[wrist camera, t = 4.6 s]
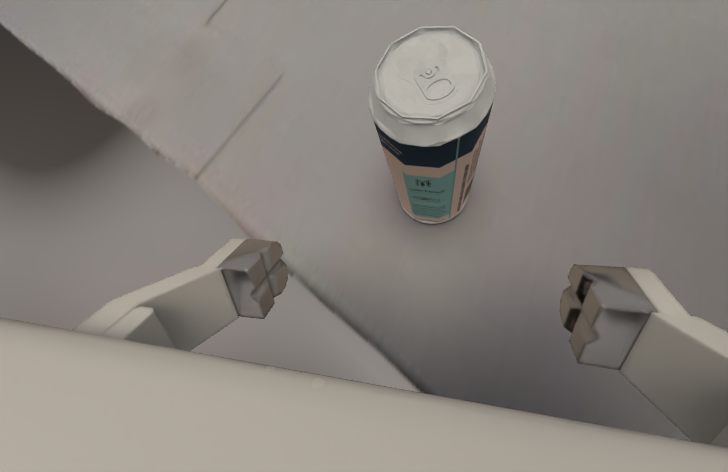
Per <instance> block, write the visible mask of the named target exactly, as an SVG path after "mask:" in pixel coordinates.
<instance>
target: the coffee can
mask: <svg viewBox="0 0 728 472" xmlns="http://www.w3.org/2000/svg"><path fill="white" fill-rule="evenodd" d="M495 89H496V79H495V74H494V70H493V68H492V66H491V64H490V62H489V60H488V58H487V56H486V54H485V53H484V51H483V49H482V47H481V43H480V42H479V41H477V40H476V39H474V38H473V37H471V36H469V35H468V34H466V33H465V32H463V31H461V30H460V29H458V28H457V27H455V26H427V27H419V28H417V29H415V30H413V31H412V32H410V33H408V34H406V35H404V36H403V37H401V38H399V39H397V40H395V41H394V42H392V43H390V45H389V47H388V48H387V50H386V52H385V53H384V55H383V57H382V58H381V60H380V62H379V63H378V65H377V67H376V68H375V74H374V76H373V78H372V80H371V83H370V87H369V95H368V101H369V109H370V112H371V115H372V117H373V120H374V123H375V126H376V129H377V132H378V135H379V138H380V141H381V144H382V147H383V150H384V154H385V157H386V160H387V163H388V166H389V169H390V172H391V175H392V178H393V181H394V184H395V187H396V190H397V193H398V196H399V199H400V203H401V205H402V207H403V209H404V210H405V212H406V213H407V214H408V215H409V216H411V217H412V218H414V219H415V220H417V221H420V222H423V223H429V224H436V223H442V222H445V221H448V220H450V219H452V218H453V217H455V216H456V215H458V214H459V213H460V212H461V210H462V209H463V208H464V206H465V204H466V202H467V200H468V196H469V192H470V188H471V184H472V181H473V177H474V173H475V169H476V165H477V161H478V158H479V154H480V150H481V146H482V142H483V138H484V135H485V131H486V127H487V123H488V119H489V115H490V112H491V108H492V104H493V100H494V97H495Z"/></svg>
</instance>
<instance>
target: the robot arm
mask: <svg viewBox="0 0 728 472" xmlns="http://www.w3.org/2000/svg"><path fill="white" fill-rule="evenodd" d="M282 255H283V250H282V247H281V244H279V243H278V242H276V241H266V240H255V239H244V238H233V239H231V240H230V241H228V242H227V243H226V244H225V245H224V246H223V247H222V248H220V249H219V250H218V251H217V252H216V253H215V254H214V255H213V256H211V257H210V258H209V259H208V260H207V261H206V262H205V263H204V264H203V265H201V266H195V267H192V268H190V269H187V270H185V271H183V272H180V273H177V274H175V275H172V276H170V277H168V278H165V279H162V280H160V281H157V282H155V283H153V284H150V285H148V286H145V287H143V288H140V289H138V290H135V291H133V292H130V293H127V294H125V295H123V296H120V297H118V298H115V299H113V300H110V301H109V302H108V303H107V304H105V305H104V306H103V307H101V308H100V309H99V310H97V311H96V312H95V313H93V314H92V315H91V316H89V317H88V318H87V319H86V320H84V321H83V322H82V323H80V324H79V325H78V326H76V327H75V328H74V329H72V330H68V329H62V328H57V327H51V326H46V325H40V324H34V323H29V322H23V321H18V320H12V319H6V318H0V472H728V332H726V331H724V330H723V329H721V328H719V327H717V326H715V325H713V324H711V323H709V322H708V321H706V320H704V319H702V318H700V317H694V316H690V315H689V314H688V313H687V311H686V310H685V309H684V308H683V307H682V306H681V304H680V303H679V302H678V301H677V300H676V299H675V297H674V296H673V295H672V294H671V293H670V291H669V290H668V289H667V288H666V287H665V286H664V284H663V283H662V282H661V281H660V280H659V278H658V277H657V276H656V275H655V274H654V273H653V271H651V270H649V269H647V268H638V267H611V266H595V265H578V264H574V265H573V266H572V268H571V269H570V272H569V275H568V279H569V281H570V283H571V286H569V287H568V288H566V289H565V290H564V291H563V293H562V297H561V300H560V315H561V320H562V323H563V326H564V327H565V328H566V329H567V330H569V331H570V332H571V333H572V334H571V337H570V340H569V342H570V344H571V347H572V350H573V352H574V355H575V357H576V360H577V363H579V364H585V365H591V366H597V367H604V368H610V369H616V370H620V371H619V372H620V373H621V374H622V375H623V376H624V377H625V378H626V379H627V380H628V381H629V382H631V383H632V384H633V385H634V386H635V387H636V388H637V389H638V390H639V391H640V392H641V393H642V394H643V395H644V396H645V397H646V398H647V399H648V400H649V401H650V402H652V403H653V404H654V405H655V406H656V407H657V408H658V409H659V410H660V411H661V412H662V413H663V414H664V415H665V416H666V417H667V418H668V419H669V420H670V421H671V422H673V423H674V424H675V425H676V426H677V427H678V428H679V429H680V430H681V431H682V432H683V433H684V434H685V435H686V436H687V437H688V438H689V439H690V440H691V441H686V440H681V439H675V438H669V437H664V436H658V435H653V434H647V433H642V432H636V431H630V430H625V429H619V428H614V427H608V426H603V425H597V424H591V423H586V422H580V421H575V420H569V419H564V418H558V417H552V416H547V415H541V414H536V413H530V412H525V411H519V410H514V409H508V408H502V407H497V406H491V405H486V404H480V403H475V402H469V401H464V400H458V399H452V398H447V397H441V396H436V395H430V394H425V393H419V392H414V391H408V390H402V389H397V388H391V387H386V386H380V385H374V384H369V383H363V382H358V381H352V380H346V379H341V378H335V377H330V376H324V375H318V374H313V373H307V372H302V371H296V370H290V369H285V368H280V367H274V366H269V365H263V364H257V363H252V362H246V361H241V360H235V359H230V358H224V357H218V356H213V355H207V354H201V353H196V352H191V350H192V349H194V348H195V347H196V346H198V345H200V344H201V343H202V342H204V341H205V340H207V339H208V338H210V337H211V336H213V335H214V334H216V333H217V332H219V331H220V330H221V329H223V328H224V327H226V326H227V325H229V324H230V323H231V322H233V321H235V320H236V319H237V318H239V317H238V316H241V317H250V318H259V319H264V318H265V317H266V315H267V314H268V312H269V311H270V309H271V308H272V307H273V305H274V297H276V296H278V295H280V294H281V293H282V292H283V290H284V289H285V286H286V283H287V279H288V270H287V266H286V264H285V263H284V262H283V261H282V260H281V259H280V258H281V257H282Z"/></svg>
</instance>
